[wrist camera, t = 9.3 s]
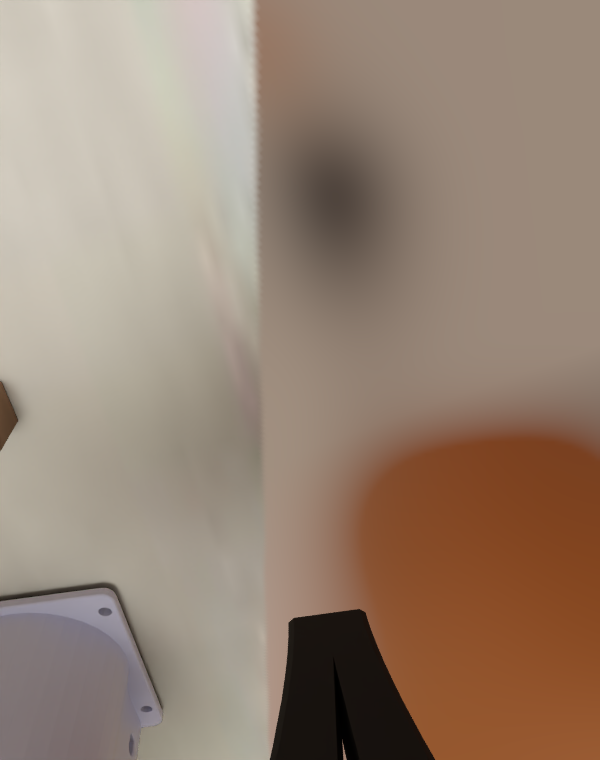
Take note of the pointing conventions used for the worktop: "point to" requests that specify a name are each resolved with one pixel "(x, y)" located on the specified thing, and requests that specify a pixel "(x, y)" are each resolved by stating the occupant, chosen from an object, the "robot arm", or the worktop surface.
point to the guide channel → (6, 417)
